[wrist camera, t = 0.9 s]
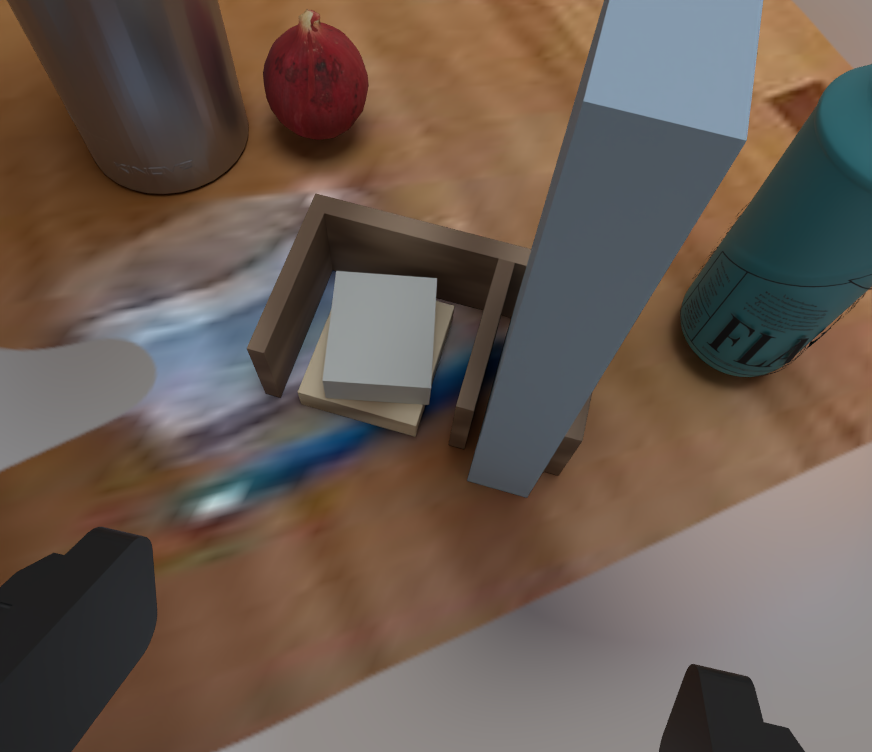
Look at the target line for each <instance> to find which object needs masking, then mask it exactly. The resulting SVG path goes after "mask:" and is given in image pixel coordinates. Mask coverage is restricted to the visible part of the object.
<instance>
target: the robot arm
mask: <svg viewBox="0 0 872 752" xmlns="http://www.w3.org/2000/svg"><path fill="white" fill-rule="evenodd" d="M7 1H8V3H9V5H10V7H11V9H12V11H13V12H14V14H15V16H16V18H17V20H18V21H19V23H20V25H21V27H22V29H23V31H24V32H25V34H26V36H27V38H28V40H29V41H30V43H31V45H32V47H33V49H34V51H35V52H36V54H37V56H38V58H39V60H40V61H41V63H42V65H43V67H44V69H45V71H46V72H47V74H48V76H49V78H50V80H51V81H52V83H53V85H54V87H55V89H56V91H57V92H58V94H59V96H60V98H61V100H62V101H63V103H64V105H65V107H66V109H67V111H68V113H69V115H70V116H71V118H72V120H73V122H74V124H75V126H76V127H77V129H78V131H79V133H80V135H81V136H82V138H83V140H84V142H85V144H86V146H87V147H88V149H89V151H90V153H91V155H92V156H93V158H94V160H95V162H96V164H97V165H98V166H99V167H100V169H101V170H102V171H103V172H104V174H105V175H107V176H108V177H109V178H111V179H112V180H113V181H115V182H116V183H118V184H120V185H122V186H125V187H127V188H129V189H132V190H136V191H140V192H144V193H155V194H169V193H178V192H184V191H187V190H191V189H194V188H198V187H200V186H202V185H205V184H207V183H209V182H211V181H213V180H215V179H216V178H218V177H219V176H220V175H222V174H223V173H225V172H226V171H227V170H228V169H229V168H230V167H231V166H232V165H233V164H234V163H235V162H236V161H237V160H238V158H239V156H240V155H241V153H242V151H243V150H244V148H245V144H246V141H247V138H248V120H247V116H246V112H245V108H244V104H243V100H242V96H241V92H240V88H239V84H238V80H237V76H236V72H235V67H234V63H233V59H232V55H231V51H230V47H229V43H228V39H227V35H226V31H225V27H224V23H223V19H222V15H221V11H220V7H219V3H218V0H7ZM156 621H157V602H156V589H155V576H154V563H153V550H152V544H151V542H150V540H149V539H148V538H147V537H144V536H139V535H135V534H131V533H126V532H122V531H117V530H113V529H109V528H104V527H97V528H94V529H92V530H91V531H90V532H88V533H87V534H86V535H85V536H84V537H83V538H82V539H81V540H80V541H79V542H78V543H77V544H76V545H75V546H74V547H73V548H72V549H71V550H69V551H68V552H67V553H66V554H65V555H61V554H57V553H52V554H51V555H49V556H47V557H45V558H43V559H41V560H39V561H37V562H35V563H33V564H31V565H30V566H28V567H26V568H24V569H22V570H20V571H18V572H16V573H15V574H14V575H13V576H12V577H11V578H10V579H9V580H8V581H6V582H5V583H4V584H3V585H2V586H1V587H0V752H71V751H72V750H73V749H74V747H75V746H76V745H77V743H78V742H79V741H80V739H81V738H82V737H83V735H84V734H85V733H86V731H87V730H88V729H89V727H90V726H91V724H92V723H93V722H94V720H95V719H96V718H97V716H98V715H99V714H100V712H101V711H102V710H103V708H104V707H105V706H106V704H107V703H108V701H109V700H110V699H111V697H112V696H113V695H114V693H115V692H116V691H117V689H118V688H119V687H120V685H121V684H122V683H123V681H124V680H125V679H126V677H127V676H128V674H129V673H130V672H131V670H132V669H133V668H134V666H135V665H136V664H137V662H138V661H139V660H140V658H141V657H142V655H143V654H144V652H145V651H146V649H147V647H148V645H149V643H150V641H151V638H152V636H153V633H154V630H155V626H156ZM659 752H805V751H804V750H803V748H802V747H801V746H800V744H799V743H798V741H797V740H796V739H795V737H794V736H793V734H792V733H791V731H790V730H789V728H785V727H781V726H777V725H773V724H769V723H764V722H763V718H762V714H761V710H760V706H759V703H758V699H757V695H756V691H755V687H754V685H753V682H752V680H751V679H750V678H749V677H747V676H743V675H739V674H735V673H730V672H726V671H721V670H717V669H712V668H708V667H704V666H700V665H695V664H691V665H690V666H689V667H688V669H687V671H686V673H685V676H684V678H683V681H682V684H681V687H680V689H679V692H678V695H677V698H676V700H675V703H674V706H673V709H672V712H671V714H670V717H669V720H668V723H667V725H666V728H665V730H664V733H663V736H662V740H661V744H660V748H659Z"/></svg>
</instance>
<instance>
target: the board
mask: <svg viewBox="0 0 872 752" xmlns="http://www.w3.org/2000/svg"><path fill="white" fill-rule="evenodd" d="M762 6H763V0H604V3H603V6H602V10H601V13H600V17H599V20H598V23H597V27H596V30H595V34H594V37H593V40H592V44H591V47H590V51H589V54H588V58H587V61H586V64H585V68H584V71H583V75H582V78H581V82H580V85H579V88H578V92H577V95H576V99H575V102H574V105H573V109H572V112H571V116H570V119H569V123H568V126H567V129H566V133H565V136H564V140H563V143H562V147H561V150H560V153H559V157H558V160H557V164H556V167H555V170H554V174H553V177H552V181H551V184H550V188H549V191H548V194H547V198H546V201H545V205H544V208H543V212H542V215H541V218H540V222H539V225H538V229H537V232H536V235H535V239H534V242H533V246H532V249H531V253H530V256H529V259H528V263H527V266H526V270H525V273H524V277H523V280H522V283H521V287H520V290H519V294H518V297H517V300H516V304H515V307H514V311H513V314H512V318H511V321H510V324H509V328H508V331H507V335H506V338H505V342H504V345H503V349H502V353H501V356H500V360H499V364H498V368H497V371H496V375H495V379H494V382H493V386H492V390H491V394H490V397H489V401H488V405H487V408H486V412H485V416H484V420H483V423H482V427H481V431H480V435H479V438H478V442H477V446H476V449H475V453H474V457H473V461H472V464H471V468H470V472H469V475H468V479H467V481H470V482H473V483H477V484H480V485H484V486H487V487H491V488H494V489H498V490H501V491H505V492H509V493H512V494H516V495H519V496H523V497H526V498H527V497H528V495H529V494H530V492H531V490H532V489H533V487H534V485H535V484H536V482H537V481H538V479H539V477H540V476H541V474H542V472H543V471H544V469H545V468H546V466H547V464H548V463H549V461H550V459H551V458H552V456H553V455H554V453H555V451H556V450H557V448H558V446H559V445H560V443H561V442H562V440H563V438H564V437H565V435H566V433H567V432H568V430H569V429H570V427H571V425H572V424H573V422H574V420H575V419H576V417H577V416H578V414H579V412H580V411H581V409H582V407H583V406H584V404H585V403H586V401H587V399H588V398H589V396H590V394H591V393H592V391H593V390H594V388H595V386H596V385H597V383H598V381H599V380H600V378H601V376H602V375H603V373H604V372H605V370H606V368H607V367H608V365H609V363H610V362H611V360H612V359H613V357H614V355H615V354H616V352H617V350H618V349H619V347H620V346H621V344H622V342H623V341H624V339H625V337H626V336H627V334H628V333H629V331H630V329H631V328H632V326H633V324H634V323H635V321H636V320H637V318H638V316H639V315H640V313H641V311H642V310H643V308H644V307H645V305H646V303H647V302H648V300H649V298H650V297H651V295H652V294H653V292H654V290H655V289H656V287H657V285H658V284H659V282H660V281H661V279H662V277H663V276H664V274H665V272H666V271H667V269H668V268H669V266H670V264H671V263H672V261H673V259H674V258H675V256H676V254H677V253H678V251H679V250H680V248H681V246H682V245H683V243H684V241H685V240H686V238H687V237H688V235H689V233H690V232H691V230H692V228H693V227H694V225H695V224H696V222H697V220H698V219H699V217H700V215H701V214H702V212H703V211H704V209H705V207H706V206H707V204H708V202H709V201H710V199H711V198H712V196H713V194H714V193H715V191H716V189H717V188H718V186H719V185H720V183H721V181H722V180H723V178H724V176H725V175H726V173H727V172H728V170H729V168H730V167H731V165H732V163H733V162H734V160H735V159H736V157H737V155H738V154H739V152H740V150H741V149H742V147H743V145H744V144H745V142H746V141H747V132H748V124H749V115H750V107H751V98H752V90H753V82H754V73H755V65H756V56H757V48H758V39H759V31H760V23H761V14H762Z"/></svg>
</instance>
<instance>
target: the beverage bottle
mask: <svg viewBox="0 0 872 752" xmlns="http://www.w3.org/2000/svg"><path fill="white" fill-rule="evenodd" d="M746 206H747V205H746ZM746 206H745V207H746ZM745 207H744V208H745ZM744 208H743V209H744ZM739 213H740V212H739ZM739 213H738V214H739ZM742 213H743V214H742V215H740V217H737V218H738V220H737V221H736V222H735V224H734V225H733V226H732V228H731V227H730V228H731V229H730V231H729V232H727V233H726V234H727V235H726V236H725V238H724V239H723V241H722V240H721V241H722V242H721V243H720V245H719V246H718V247H717V249H716V248H715V249H716V250H715V249H714V250H715V251H713V252H714V253H713V252H712V253H713V254H712V255H711V257H710V259H709V261H708V262H707V263H706V265H705V266H704V265H703V266H704V268H702V271H701V272H700V273H699V275H698V276H697V275H696V274H695V275H696V276H697V278H696V279H695V281H694V282H693V283H692V285H691V286H690V288H689V289H688V291H687V292H686V294H685V297H684V299H683V303H682V307H681V310H680V315H681V316H680V317H681V327H682V331H683V334H684V336H685V338H686V340H687V342H688V344H689V345H690V347H691V348H692V350H693V351H694V352H695V353H696V354H697V355H698V356H699V357H700V358H701V359H702V360H703V361H704V362H705V363H707V364H708V365H710V366H711V367H713V368H715V369H716V370H718V371H721V372H723V373H726V374H729V375H733V376H739V377H755V376H760V375H764V374H765V375H768V374H767V373H769V372H772V371H775V370H777V369H779V368H781V367H782V366H783V365H785V364H786V363H789V362H791V360H792V359H793V358H794V356H795V355H796V354H797V353H798V352H799V351H800V352H801V350H802V349H803V348H804V347H806V345H807V344H808V343H809V342H810V344H809V346H808V347H810V346H811V345H812V344H814V343H815V342H816V341H817V340H818V339H819V338H820V337H819V338H818V339H816V340H815V341H813V342H812V340H813V339H814V338H815V337H816V336H817V335H818V334H819V333H821V332H822V331H823V330H824V329H825V328H826V327H827V326H828V325H829V324H831V323H832V322H833V321H834V320H835V319H836V318H837V317H838V316H839V315H841V314H842V313H843V312H844V311H845V310H846V309H847V308H848V307H850V306H851V305H852V304H855V302H856V300H857V299H858V298H859V297H861V296H862V295H863V294H865V293H866V291H867V290H868V289H869V290H870V289H872V288H870V287H872V64H871V65H867V66H863V67H859V68H855V69H853V70H850V71H848V72H846V73H844V74H842V75H840V76H839V77H838V78H836V79H835V80H834V81H833V82H831V83H830V85H829V86H828V87H827V88H826V89H825V91H824V92H823V94H822V96H821V97H820V99H819V102H818V104H817V106H816V107H815V109H814V110H813V112H812V113H811V115H810V116H809V118H808V119H807V121H806V122H805V123H804V125H803V126H802V128H801V129H800V131H799V132H798V134H797V135H796V137H795V138H794V140H793V141H792V142H791V144H790V145H789V147H788V148H787V150H786V151H785V153H784V154H783V156H782V157H781V158H780V160H779V161H778V163H777V164H776V166H775V167H774V169H773V170H772V172H771V173H770V174H769V176H768V177H767V179H766V180H765V182H764V183H763V185H762V186H761V188H760V189H759V190H758V192H757V193H756V195H755V196H754V198H753V199H752V201H751V202H750V204H749V205H748V206H747V208H746V209H745V211H744V212H742ZM730 224H731V223H730ZM728 227H729V226H728ZM719 240H720V239H719ZM717 243H718V242H717ZM709 256H710V255H709ZM709 256H708V257H709ZM706 259H707V258H706ZM703 266H702V267H703ZM696 276H695V277H696ZM693 278H694V277H693ZM862 297H864V296H862ZM858 300H859V299H858ZM856 303H857V302H856ZM855 305H856V304H855ZM853 306H854V305H853ZM854 307H855V306H854ZM854 307H853V308H854ZM851 308H852V307H851ZM853 308H852V309H853ZM848 309H849V308H848ZM852 309H851V310H852ZM851 310H850V311H851ZM847 311H848V310H847ZM848 313H849V311H848ZM845 314H846V313H845ZM841 316H842V315H841ZM841 316H840V318H841ZM840 318H839V319H840ZM839 319H838V320H839ZM838 320H837V321H838ZM837 321H836V322H837ZM836 322H835V323H836ZM835 323H834V324H835ZM834 324H833V325H834ZM833 325H832V326H833ZM832 326H831V327H832ZM831 327H830V328H829V329H831ZM829 329H828V330H829ZM828 330H827V331H828ZM827 331H826V332H827ZM826 332H824V333H822V336H823V335H824V334H825V333H826ZM822 336H821V337H822ZM808 347H807V348H808ZM804 350H805V348H804ZM805 351H806V350H805ZM802 352H803V351H802ZM799 354H800V353H799ZM801 354H802V353H801ZM799 356H800V355H799ZM799 356H797V357H799ZM795 360H796V359H794V361H795ZM792 361H793V360H792ZM791 363H792V362H791ZM789 364H790V363H789ZM788 366H789V365H788ZM783 367H784V366H783ZM783 367H782V368H783ZM785 368H786V367H785ZM777 372H778V371H777ZM774 373H775V372H774ZM770 374H772V373H770Z"/></svg>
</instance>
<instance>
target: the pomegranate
mask: <svg viewBox="0 0 872 752" xmlns="http://www.w3.org/2000/svg"><path fill="white" fill-rule="evenodd" d="M319 20H320V14H318V13H317V12H315V11H312V10H308V9H307V10H306V11H305V12H304V13H303V14H302V15H300V16H299V24H298V25H296V26H294V27H292V28H290V29H288V30H287V31H286V32H285V33H284V34H282V35H281V36H280V37H279V38H278V39H276V41H275V42H274V43H273V45H272V47H271V49H270V51H269V54H268V56H267V59H266V61H265V64H264V71H263V78H264V87H265V93H266V98H267V100H268V103H269V105H270V108H271V110H272V111H273V112H274V114H275V115H276V117H277V118H278V120H279V121H280V122H281V123H282V124H283V125H284V126H285V127H286V128H288V129H290V130H291V131H293V132H294V133H296V134H297V135H299V136H302V137H307V138H311V139H315V140H320V139H328V138H334V137H336V136H338V135H340V134H342V133H343V132H345V131H347V130H349V128H350V127H351V126H352V125H353V123H354V122H355V121H356V119H357V118H358V117H359V115H360V114H361V113H362V111H363V108H364V105H365V101H366V96H367V91H368V75H367V72H366V69H365V66H364V63H363V60H362V58H361V55H360V53H359V51H358V49H357V48H356V47H355V45H354V44H353V43H352V42H351V41H350V40H349V38H348V37H347V36H346V35H345V34H344V33H343V32H341V31H340V30H338V29H336V28H335V27H332V26H330V25H327V24H325V23H321V22H320V21H319Z"/></svg>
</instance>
